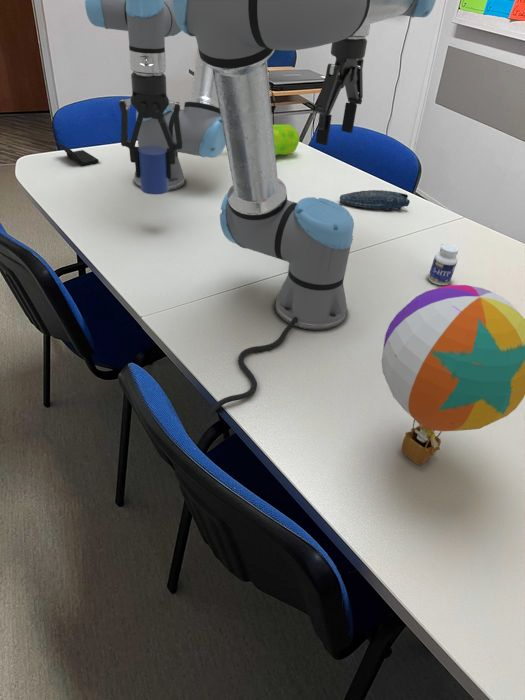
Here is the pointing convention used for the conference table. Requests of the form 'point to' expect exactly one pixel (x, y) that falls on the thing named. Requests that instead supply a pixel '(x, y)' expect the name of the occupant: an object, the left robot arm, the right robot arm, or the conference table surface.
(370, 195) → the fish model
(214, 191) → the conference table surface
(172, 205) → the conference table surface
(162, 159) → the can
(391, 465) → the conference table surface
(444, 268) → the pill bottle
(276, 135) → the decorative tree
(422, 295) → the toy
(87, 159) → the black handled block
